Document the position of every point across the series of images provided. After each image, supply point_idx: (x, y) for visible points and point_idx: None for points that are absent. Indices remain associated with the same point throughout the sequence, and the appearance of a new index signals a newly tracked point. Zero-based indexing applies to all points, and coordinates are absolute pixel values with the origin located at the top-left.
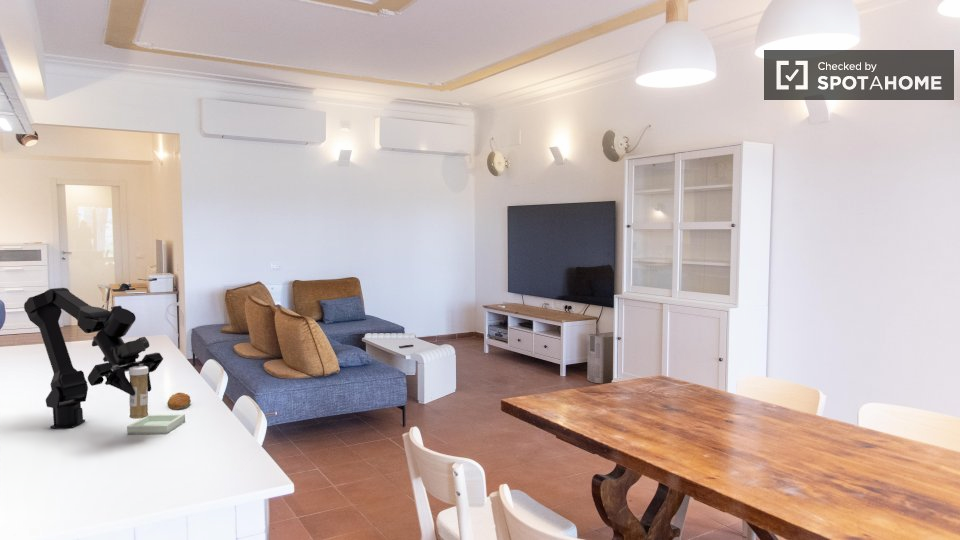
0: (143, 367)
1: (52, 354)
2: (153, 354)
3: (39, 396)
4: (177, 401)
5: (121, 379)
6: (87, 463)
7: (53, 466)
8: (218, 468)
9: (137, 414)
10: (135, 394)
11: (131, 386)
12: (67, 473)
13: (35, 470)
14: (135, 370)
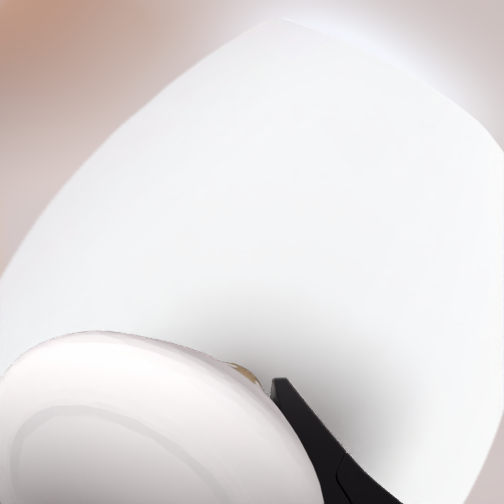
0: (73, 394)
1: None
2: None
3: None
4: None
5: (388, 493)
6: (420, 335)
7: (459, 387)
8: (279, 74)
9: (250, 376)
10: (262, 389)
11: (292, 421)
12: (463, 308)
13: (481, 392)
14: (286, 427)
